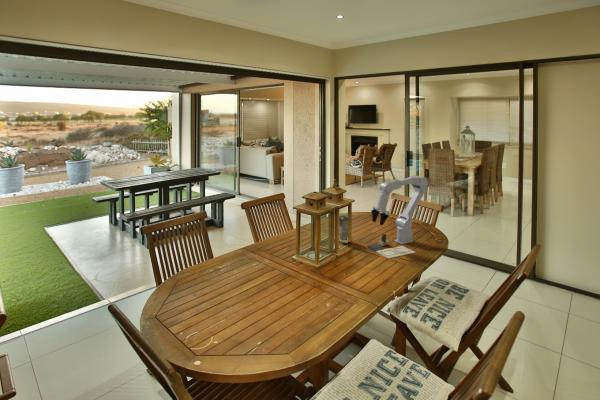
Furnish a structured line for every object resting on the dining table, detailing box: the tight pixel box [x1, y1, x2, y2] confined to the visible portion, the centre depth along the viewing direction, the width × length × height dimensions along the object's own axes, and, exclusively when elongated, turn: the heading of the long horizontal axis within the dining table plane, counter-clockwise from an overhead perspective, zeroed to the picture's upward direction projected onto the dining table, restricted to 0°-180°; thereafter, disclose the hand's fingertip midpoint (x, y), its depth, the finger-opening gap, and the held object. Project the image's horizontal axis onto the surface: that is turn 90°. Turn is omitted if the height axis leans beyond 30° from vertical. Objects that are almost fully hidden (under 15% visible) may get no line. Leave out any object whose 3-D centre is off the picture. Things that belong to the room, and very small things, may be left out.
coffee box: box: [339, 215, 349, 240], centre depth 235 cm, size 9×6×16 cm
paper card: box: [375, 245, 417, 259], centre depth 216 cm, size 20×12×1 cm, turn 114°
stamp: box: [377, 233, 390, 248], centre depth 227 cm, size 5×4×7 cm
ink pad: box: [366, 243, 384, 252], centre depth 223 cm, size 7×7×1 cm
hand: (377, 223), depth 223 cm, fingers open, 7 cm apart
